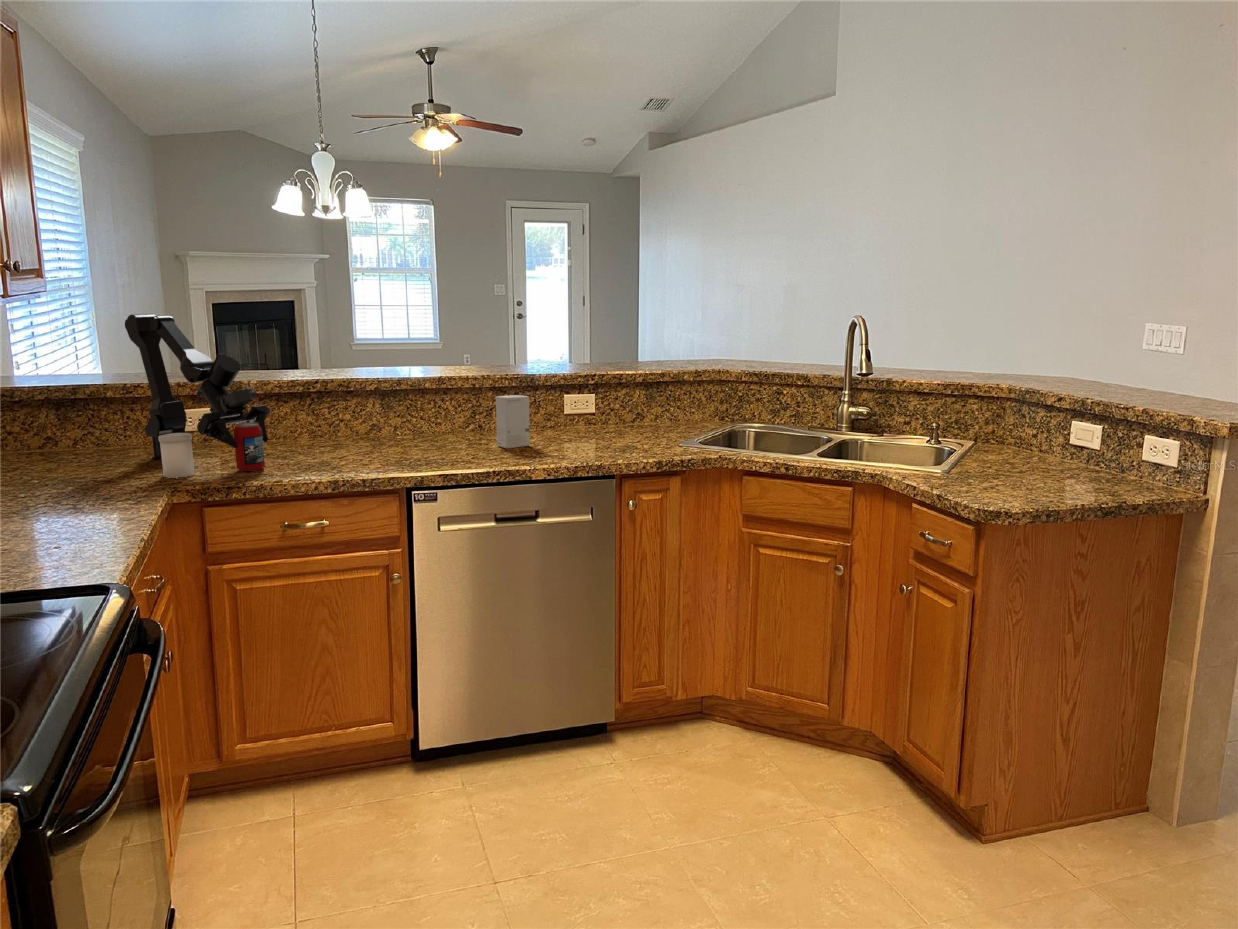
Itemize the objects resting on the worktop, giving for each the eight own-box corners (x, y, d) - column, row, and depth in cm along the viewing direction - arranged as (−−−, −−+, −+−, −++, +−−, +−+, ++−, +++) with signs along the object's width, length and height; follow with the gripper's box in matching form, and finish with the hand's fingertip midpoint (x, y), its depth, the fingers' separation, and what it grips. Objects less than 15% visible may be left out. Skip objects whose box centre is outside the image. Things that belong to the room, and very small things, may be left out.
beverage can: (255, 473, 228) (251, 426, 225) (231, 472, 229) (227, 425, 227) (270, 467, 234) (266, 422, 232) (247, 466, 235) (243, 421, 233)
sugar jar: (157, 479, 221) (153, 438, 219) (169, 472, 228) (165, 433, 226) (189, 478, 222) (184, 437, 220) (199, 472, 229) (195, 432, 227)
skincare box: (506, 449, 259) (505, 398, 255) (495, 446, 263) (494, 395, 260) (531, 445, 264) (530, 395, 261) (520, 442, 268) (518, 393, 265)
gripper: (199, 381, 221) (233, 429, 218) (262, 374, 237) (294, 418, 234) (182, 410, 226) (215, 457, 223) (245, 401, 242) (276, 445, 239)
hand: (251, 444), depth 230 cm, fingers open, 9 cm apart
